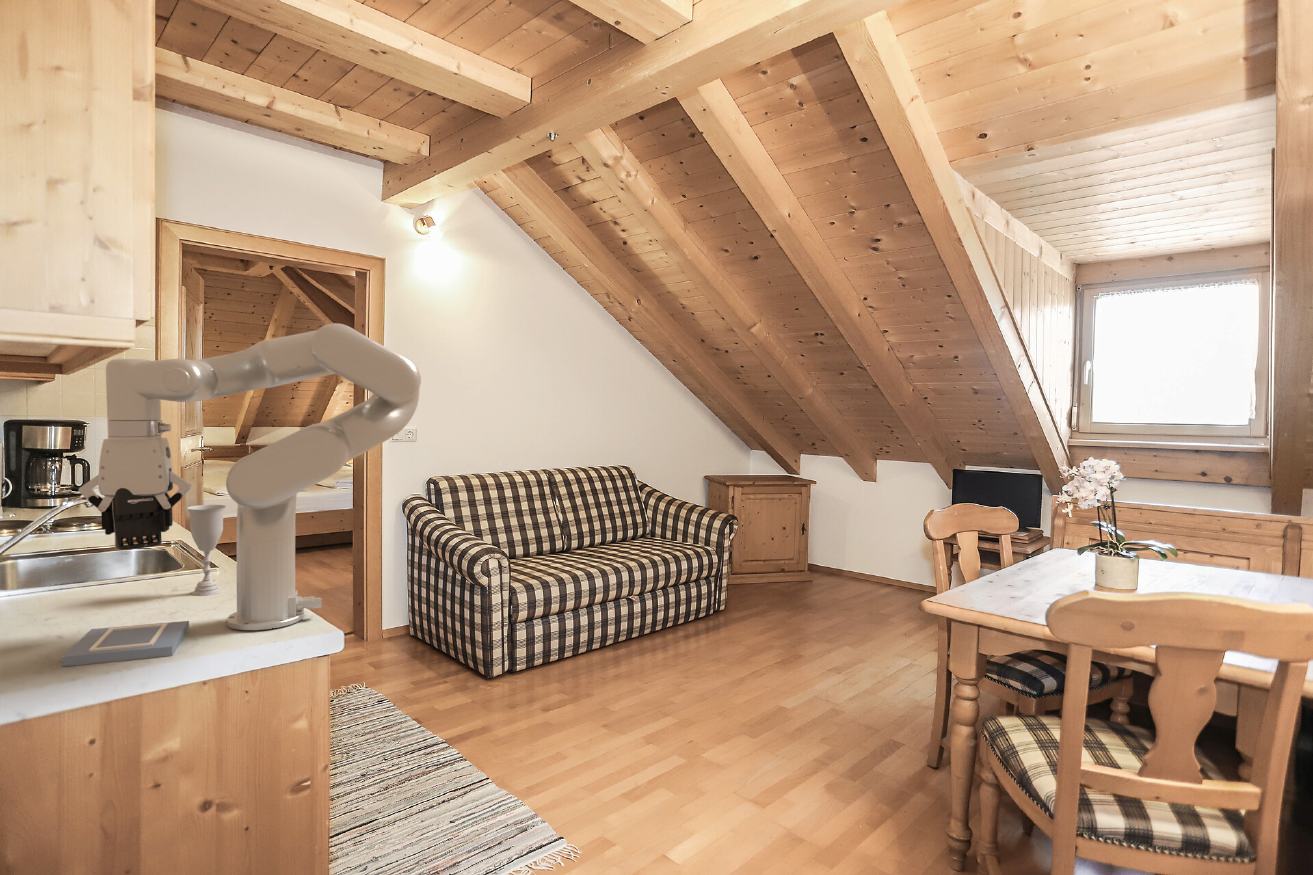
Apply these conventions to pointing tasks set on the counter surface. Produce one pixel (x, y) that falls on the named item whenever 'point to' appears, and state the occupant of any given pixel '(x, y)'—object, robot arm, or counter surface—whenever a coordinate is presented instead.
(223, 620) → the counter surface
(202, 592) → the chalice
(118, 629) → the grey flat square block
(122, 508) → the battery charger
